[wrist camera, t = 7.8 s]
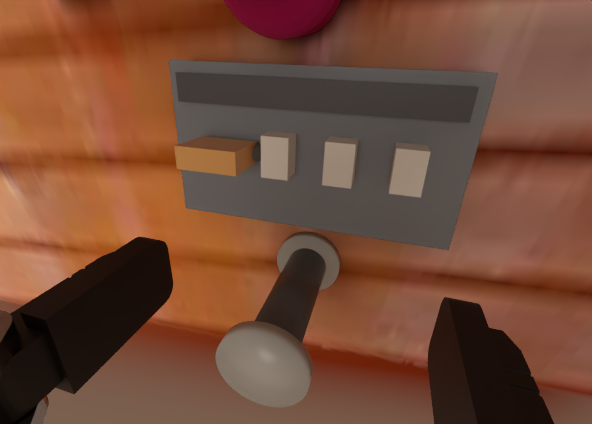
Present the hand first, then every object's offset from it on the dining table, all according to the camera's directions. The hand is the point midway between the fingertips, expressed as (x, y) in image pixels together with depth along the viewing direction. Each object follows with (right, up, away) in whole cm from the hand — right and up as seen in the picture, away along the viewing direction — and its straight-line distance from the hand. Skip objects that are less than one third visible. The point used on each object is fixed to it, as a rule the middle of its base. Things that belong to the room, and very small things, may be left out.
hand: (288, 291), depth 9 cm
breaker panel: (+2, +8, +17) cm, 19 cm away
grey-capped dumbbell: (+2, -2, +21) cm, 22 cm away
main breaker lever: (-5, +7, +16) cm, 18 cm away
